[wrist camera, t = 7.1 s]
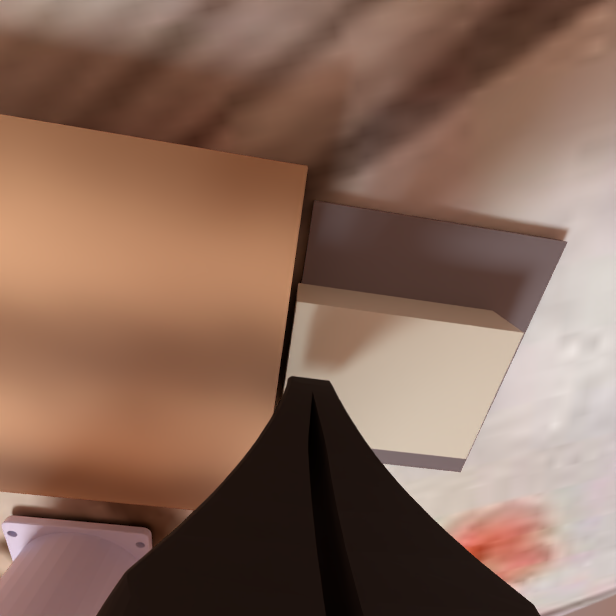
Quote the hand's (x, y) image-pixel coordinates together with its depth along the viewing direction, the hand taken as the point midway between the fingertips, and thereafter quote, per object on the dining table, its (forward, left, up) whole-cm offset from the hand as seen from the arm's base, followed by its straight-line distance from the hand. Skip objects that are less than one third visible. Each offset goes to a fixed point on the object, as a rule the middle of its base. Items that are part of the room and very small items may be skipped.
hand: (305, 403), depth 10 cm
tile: (0, -3, -3) cm, 5 cm away
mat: (0, -4, -4) cm, 6 cm away
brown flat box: (0, +7, -4) cm, 8 cm away
